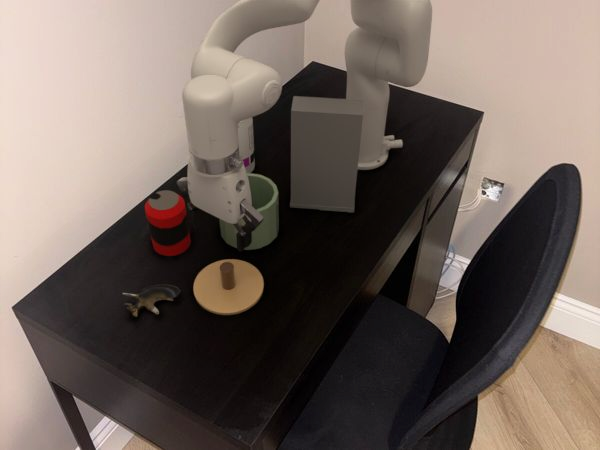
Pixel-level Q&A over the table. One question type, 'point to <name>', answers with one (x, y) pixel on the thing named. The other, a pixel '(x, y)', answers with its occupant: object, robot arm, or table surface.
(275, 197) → the canister
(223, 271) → the lid
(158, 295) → the eagle figurine
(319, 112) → the tall grey box
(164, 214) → the soda can
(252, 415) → the table surface
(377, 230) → the table surface
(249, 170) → the supplement can
